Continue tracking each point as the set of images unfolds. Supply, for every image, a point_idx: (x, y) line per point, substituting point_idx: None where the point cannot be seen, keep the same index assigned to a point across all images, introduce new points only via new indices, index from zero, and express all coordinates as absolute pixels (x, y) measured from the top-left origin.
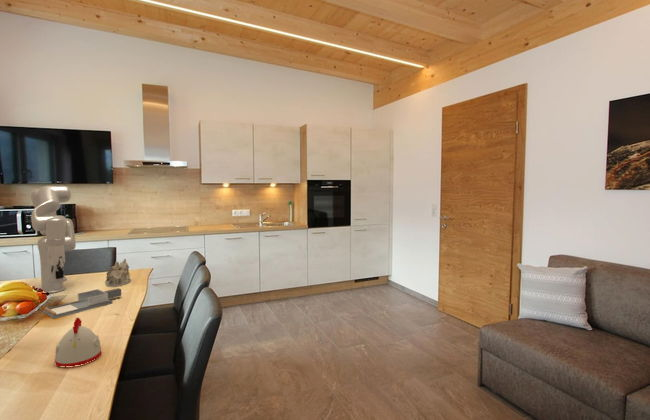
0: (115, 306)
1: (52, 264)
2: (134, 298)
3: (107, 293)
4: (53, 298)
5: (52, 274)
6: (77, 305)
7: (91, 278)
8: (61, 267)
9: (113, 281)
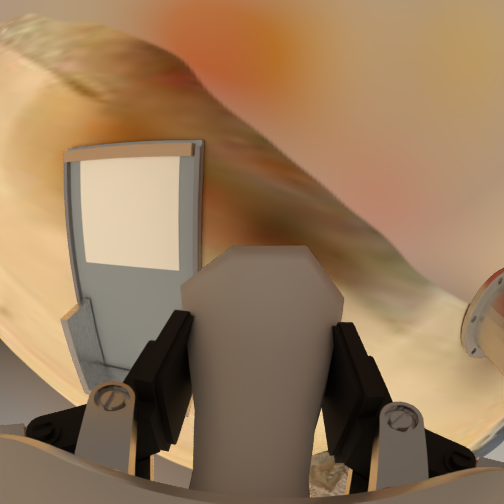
0: (65, 355)
1: (45, 473)
2: None
3: (84, 391)
4: (409, 275)
5: (263, 331)
6: (141, 285)
7: (468, 424)
8: (19, 433)
9: (322, 471)
